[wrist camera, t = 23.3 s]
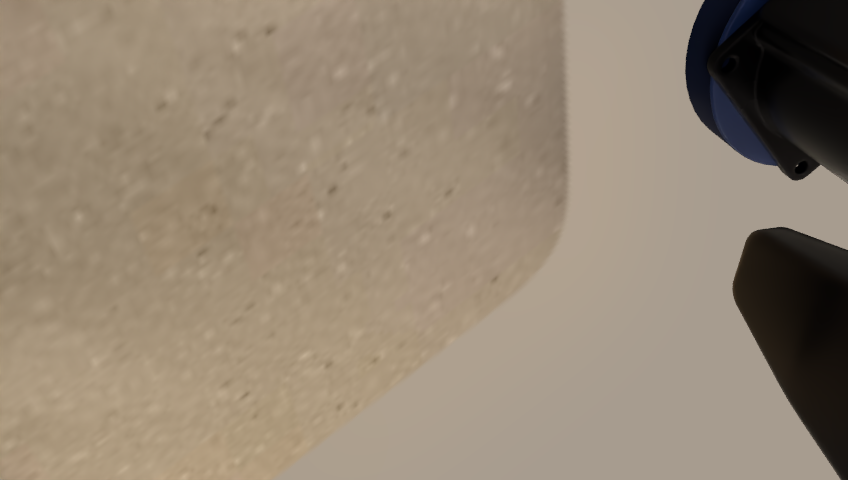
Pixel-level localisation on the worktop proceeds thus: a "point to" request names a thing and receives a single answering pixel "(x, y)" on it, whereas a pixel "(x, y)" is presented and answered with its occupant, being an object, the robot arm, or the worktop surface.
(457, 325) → the worktop surface
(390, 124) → the worktop surface
